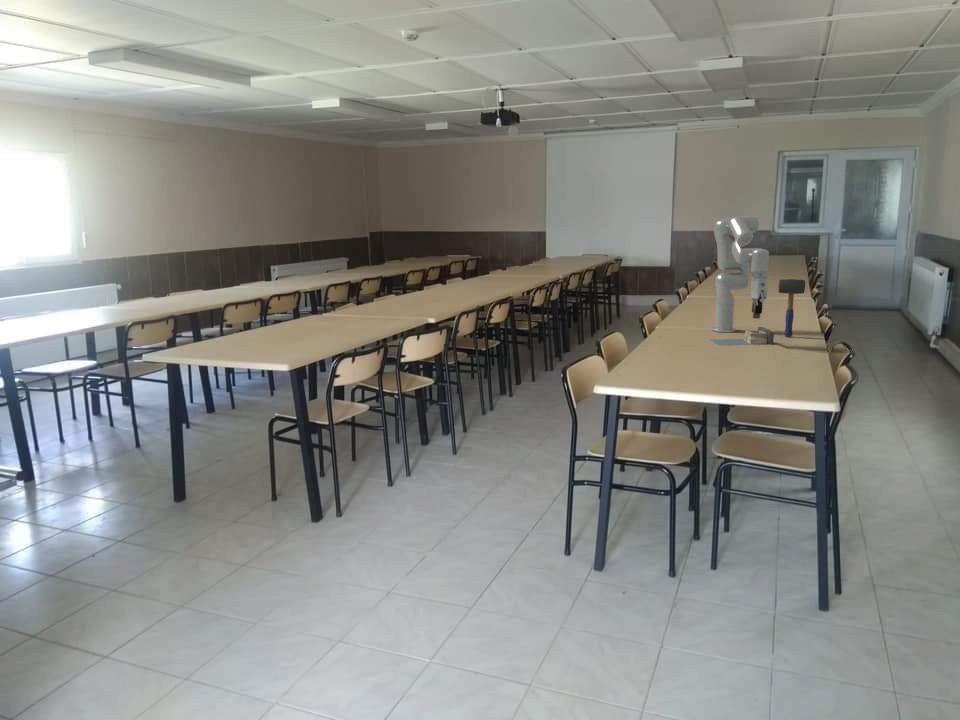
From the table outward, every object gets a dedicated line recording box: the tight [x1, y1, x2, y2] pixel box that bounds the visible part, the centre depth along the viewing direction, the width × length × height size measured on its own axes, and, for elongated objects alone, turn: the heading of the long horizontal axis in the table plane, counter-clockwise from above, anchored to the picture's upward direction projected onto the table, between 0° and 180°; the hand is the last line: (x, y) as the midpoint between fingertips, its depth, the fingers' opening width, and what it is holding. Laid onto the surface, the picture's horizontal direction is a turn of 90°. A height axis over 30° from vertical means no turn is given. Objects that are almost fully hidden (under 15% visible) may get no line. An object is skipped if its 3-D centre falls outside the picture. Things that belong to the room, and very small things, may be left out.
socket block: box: [744, 329, 768, 344], centre depth 345 cm, size 8×8×5 cm
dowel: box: [752, 298, 761, 319], centre depth 343 cm, size 3×3×12 cm
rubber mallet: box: [778, 278, 806, 338], centre depth 361 cm, size 12×8×30 cm, turn 66°
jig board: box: [710, 326, 775, 346], centre depth 346 cm, size 15×26×8 cm, turn 90°
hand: (756, 312), depth 343 cm, fingers closed on dowel, 3 cm apart
